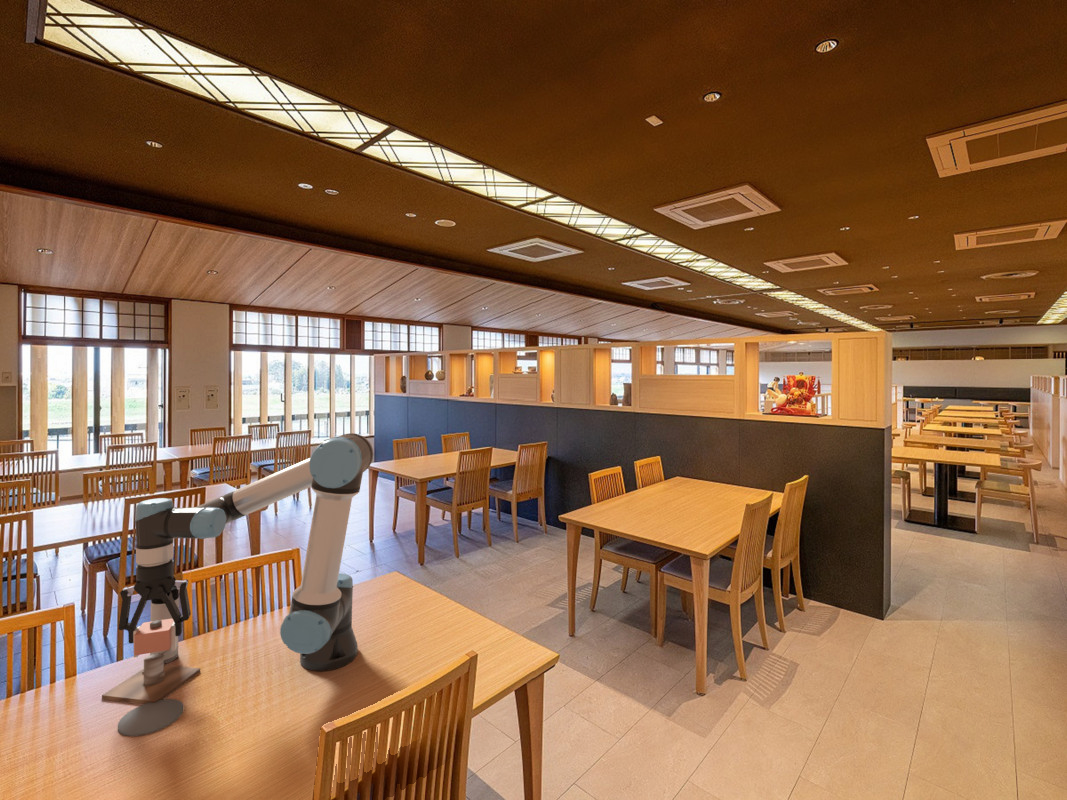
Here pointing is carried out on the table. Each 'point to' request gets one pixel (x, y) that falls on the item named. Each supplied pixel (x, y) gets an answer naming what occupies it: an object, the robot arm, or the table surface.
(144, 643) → the pink block with knob
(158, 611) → the travel mug
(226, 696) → the table surface
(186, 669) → the brown wooden stand
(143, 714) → the mat
